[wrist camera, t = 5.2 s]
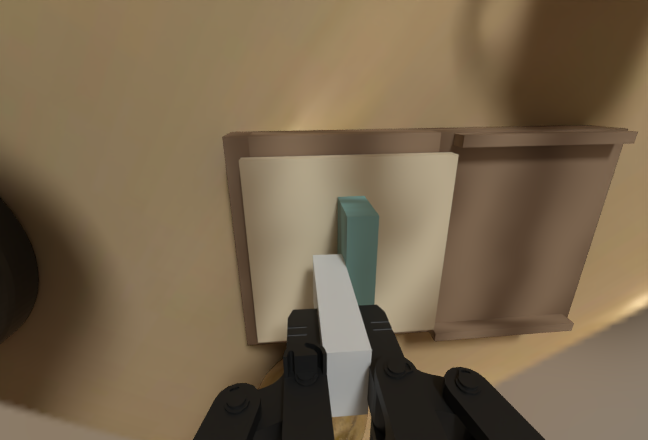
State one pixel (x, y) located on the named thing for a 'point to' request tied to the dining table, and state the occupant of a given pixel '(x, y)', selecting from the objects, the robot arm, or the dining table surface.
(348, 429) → the onion
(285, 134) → the brown sliding lid box
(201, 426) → the robot arm
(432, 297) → the cover
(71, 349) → the dining table surface
